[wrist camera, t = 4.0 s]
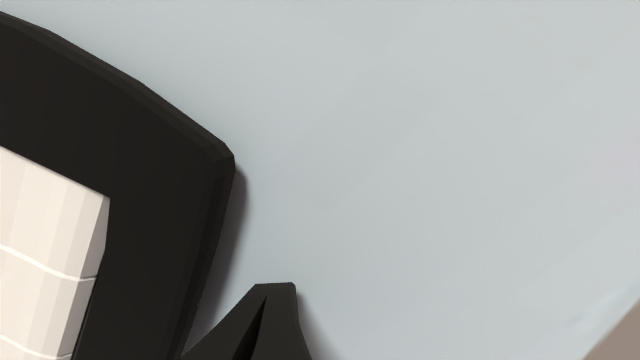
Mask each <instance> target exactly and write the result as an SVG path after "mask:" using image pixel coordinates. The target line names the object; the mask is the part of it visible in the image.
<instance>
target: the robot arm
mask: <svg viewBox="0 0 640 360" xmlns="http://www.w3.org/2000/svg"><path fill="white" fill-rule="evenodd" d="M179 360H312V358H311V355H310V353H309V350H308V348H307V345H306V343H305V340H304V337H303V334H302V331H301V328H300V324H299V318H298V308H297V297H296V287H295V285H294V284H293V283H292V282H287V283H267V284H255V285H254V286H253V287H252V288H251V289H250V290H249V291H248V292H247V293H246V294H245V296H244V297H243V298H242V299H241V300H240V301H239V302H238V303H237V304H236V305H235V307H234V308H233V309H232V310H231V311H230V312H229V313H228V314H227V315H226V316H225V317H224V318H223V319H222V320H221V321H220V322H219V323H218V324H217V325H216V326H215V327H214V328H213V329H212V330H211V331H210V332H209V333H208V334H207V335H206V336H205V337H204V338H203V339H202V340H201V341H200V342H199V343H197V344H196V345H195V346H194V347H193V348H192V349H191V350H190V351H189V352H187V353H186V354H185V355H184V356H183V357H181V358H180V359H179Z"/></svg>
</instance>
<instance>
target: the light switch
mask: <svg viewBox="0 0 640 360" xmlns="http://www.w3.org/2000/svg"><path fill="white" fill-rule="evenodd" d="M234 174H235V160H234V155H233V153H232V152H231V151H230V149H229V148H228V147H227V146H226V144H225V143H224V142H223V141H221V140H220V139H219V138H217V137H216V136H214V135H213V134H212V133H210V132H209V131H208V130H206V129H205V128H203V127H202V126H201V125H199V124H198V123H197V122H195V121H194V120H192V119H191V118H190V117H188V116H187V115H185V114H184V113H183V112H181V111H180V110H179V109H177V108H176V107H174V106H173V105H172V104H170V103H169V102H168V101H166V100H165V99H163V98H162V97H161V96H159V95H158V94H156V93H155V92H154V91H152V90H151V89H150V88H148V87H147V86H145V85H144V84H143V83H141V82H140V81H138V80H136V79H135V78H133V77H131V76H129V75H127V74H126V73H124V72H122V71H120V70H119V69H117V68H115V67H113V66H112V65H110V64H108V63H106V62H104V61H103V60H101V59H99V58H97V57H96V56H94V55H92V54H90V53H89V52H87V51H85V50H83V49H81V48H80V47H78V46H76V45H74V44H73V43H71V42H69V41H67V40H66V39H64V38H62V37H60V36H58V35H57V34H55V33H53V32H51V31H50V30H47V29H44V28H42V27H39V26H37V25H34V24H32V23H29V22H27V21H24V20H22V19H19V18H16V17H14V16H11V15H9V14H6V13H4V12H1V11H0V360H179V358H180V355H181V353H182V350H183V348H184V345H185V342H186V340H187V337H188V334H189V332H190V329H191V327H192V324H193V321H194V317H195V314H196V311H197V308H198V305H199V301H200V298H201V295H202V292H203V289H204V286H205V282H206V279H207V276H208V273H209V270H210V266H211V263H212V260H213V257H214V254H215V251H216V247H217V244H218V240H219V235H220V231H221V227H222V223H223V219H224V215H225V211H226V207H227V203H228V199H229V195H230V191H231V187H232V183H233V178H234Z"/></svg>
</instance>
